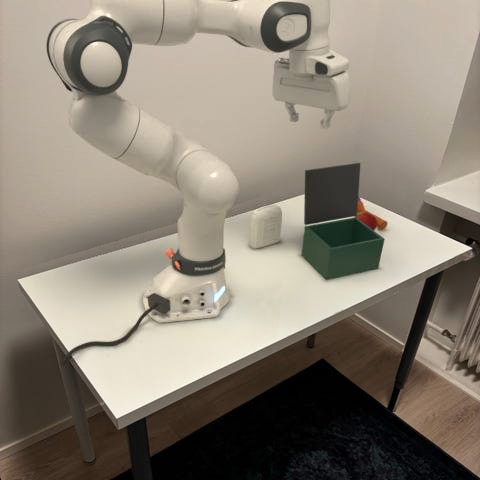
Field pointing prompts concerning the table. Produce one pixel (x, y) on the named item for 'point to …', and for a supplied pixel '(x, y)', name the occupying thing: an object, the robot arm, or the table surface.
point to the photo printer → (265, 226)
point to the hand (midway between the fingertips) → (309, 124)
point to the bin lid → (331, 193)
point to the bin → (342, 248)
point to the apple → (367, 219)
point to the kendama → (380, 222)
